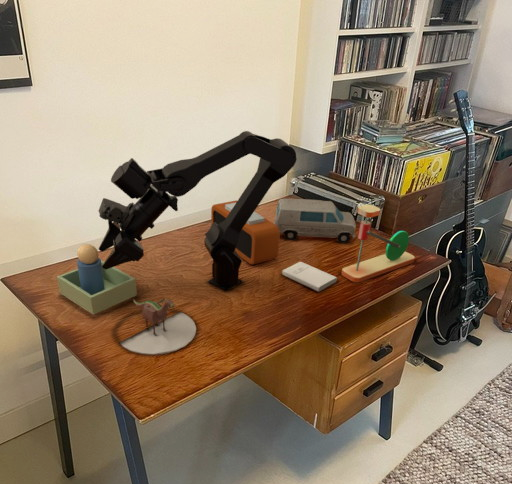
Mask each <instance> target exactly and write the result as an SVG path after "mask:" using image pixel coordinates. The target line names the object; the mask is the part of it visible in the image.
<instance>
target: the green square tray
mask: <svg viewBox="0 0 512 484" xmlns="http://www.w3.org/2000/svg"><path fill="white" fill-rule="evenodd" d="M104 262H105V260H102V259H101V264H102V266H103V264H104ZM102 272H103V279H104V287H105V290H103V291H101V292H98V293H96V294H94V295H90V294H89V293H87V292H86V291H84V290H82V289H81V285H80V279H79V272H78V268H75V269H72V270H71V271H68V272H65V273H63V274H59V275H57V276H56V279H57V285H58V290H59V293H60V294H61V295H62V296H64V297H65V298H67V299H69V300H70V301H71V302H73V303H75V304H76V305H78V306H79V307H81V308H82V309H83V310H85V311H87V312H89V313H90V314H91V315H96V314H98V313H100V312H103V311H105V310H108V309H110V308H111V307H114V306H116V305H118V304H120V303H123V302H125V301H127V300H130V299H131V298H132V299H133V298H134V297H136V296H137V295H138V291H137V281H136V279H137V278H135V277H133V276H131V275H129V274H128V273H126V272H124V271H123V270H121V269H119V268H117V267H116V266H114V267H112V268H109V269H104V268H103V267H102Z"/></svg>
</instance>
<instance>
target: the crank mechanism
mask: <svg viewBox="0 0 512 484" xmlns="http://www.w3.org/2000/svg"><path fill="white" fill-rule="evenodd" d="M356 212H357V214H358V215H360V216H362V217H364V218H365V219H364V220H361V221H360V223H359V228H358V233H357V239H359V240H360V246H359V251H358V252H359V253H358V257H357V262H356V263H353V264H350V265H348V266H345V267H343V268H342V269H341V274H340V275H341V276H343V277H344V278H346V279H347V280H349V281H351V282H353V283H361V282H364V281H367V280H370V279H372V278H375V277H378V276H381V275H383V274H386V273H389V272H391V271H395V270H397V269H400V268H404V267H405V266H408V265H411V264H414V263H415V259H416V257H415V256H414V255H413V254H411V253H409V252H407V249H408V245H409V241H410V236H409V233H408V232H407V231H405V230H398V231H397V232H395V233H394V234H393V235H392V236H391V238H389V239H388V238H386V237H384V236H381V235H379V234H378V233H375V232H373V231H371V226H372V223H371V221H369V220H368V219H369V218H374V217H378V216H379V215H380V214H381V213H380V212H381V208H380V207H379V206H376V205H374V204H362V205H359V206H357V211H356ZM369 236H371V237H374V238H376V239H377V240H380V241H381V242H384V243H387V245H386V247H385V253H383V254H380V255H377V256H374V257H371V258H369V259H366V260H363V261H361V257H362V251H363V246H364V241H368V240H369Z"/></svg>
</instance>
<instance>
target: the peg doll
mask: <svg viewBox="0 0 512 484" xmlns="http://www.w3.org/2000/svg"><path fill="white" fill-rule="evenodd" d="M77 258H78V259H77V261H76V265H77V269H78V272H79V279H80V285H81V289H82V290H84V291H86V292H87V293H89V294H90V295H94V294H96V293H98V292H101V291H103V290H105V287H104V279H103V272H102V264H101V260H102V259H101V258H100V257H99V250H98V249H97V248H96V246H94V245H92V244H89V243H86V244H85V243H84V244H82V245H81V246H80V247H79V248H78V250H77Z"/></svg>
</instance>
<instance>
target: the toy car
mask: <svg viewBox="0 0 512 484" xmlns="http://www.w3.org/2000/svg"><path fill="white" fill-rule="evenodd" d="M273 224H275V225H276V226H277V227H278V228H279V231H280V236H282V235H283V238H284V239H285V240H287V241H296V240H297V239H298V237H310V238H312V237H313V238H331V239H332V238H333V239H334V238H335V239H336V241H337V242H338V243H339V244H348V243H349V242H350V241H351V238H352V239H355V237H356V233H355V231H356V227H357V226H356V220H355V218H354V216H353V214H352V213H351V212H348V211H341V210H340V209H338V207H337V206H336V205H335V204H334V202H333V201H331V200H320V199H305V198H303V199H302V198H279V199H278V203H277V206H276V209H275V217H274V220H273Z"/></svg>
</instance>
